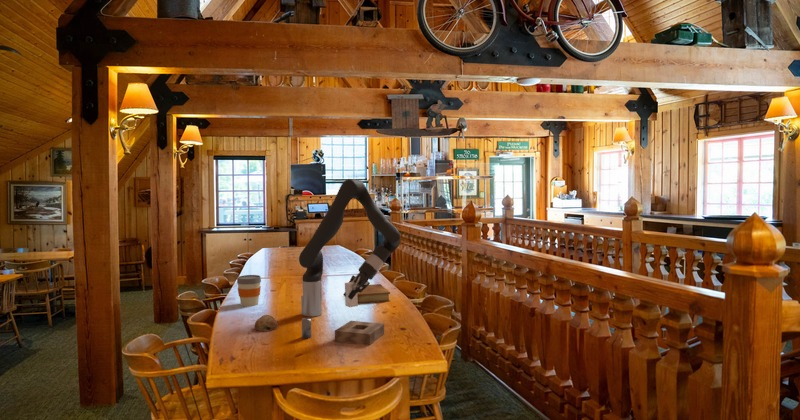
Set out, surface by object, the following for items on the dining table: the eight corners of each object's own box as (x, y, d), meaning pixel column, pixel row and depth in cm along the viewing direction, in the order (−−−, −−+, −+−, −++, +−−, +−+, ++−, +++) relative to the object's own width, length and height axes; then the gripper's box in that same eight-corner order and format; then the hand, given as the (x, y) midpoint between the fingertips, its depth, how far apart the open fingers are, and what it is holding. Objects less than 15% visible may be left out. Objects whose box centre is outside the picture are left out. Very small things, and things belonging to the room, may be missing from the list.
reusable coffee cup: (257, 307, 275) (257, 279, 274) (234, 307, 276) (233, 279, 275) (264, 301, 288) (263, 274, 287) (241, 301, 288) (241, 274, 287)
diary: (349, 295, 304) (349, 286, 303) (380, 293, 309) (380, 284, 308) (356, 304, 282) (356, 294, 281) (390, 302, 287) (390, 291, 286)
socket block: (334, 341, 217) (334, 330, 217) (350, 330, 232) (350, 320, 232) (370, 345, 212) (370, 334, 211) (384, 333, 227) (384, 323, 226)
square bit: (345, 305, 227) (344, 282, 226) (353, 304, 229) (353, 281, 228) (349, 307, 223) (348, 284, 223) (357, 306, 225) (357, 283, 225)
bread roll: (256, 339, 232) (257, 325, 228) (252, 324, 240) (253, 311, 236) (278, 336, 236) (280, 322, 233) (273, 322, 244) (274, 308, 241)
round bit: (300, 338, 221) (300, 319, 221) (304, 335, 225) (304, 317, 225) (308, 339, 220) (308, 320, 220) (312, 336, 224) (312, 318, 223)
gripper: (358, 259, 235) (334, 289, 229) (373, 263, 223) (348, 294, 217) (369, 269, 238) (345, 299, 232) (384, 274, 226) (360, 305, 220)
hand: (347, 297), depth 225 cm, fingers closed on square bit, 4 cm apart
